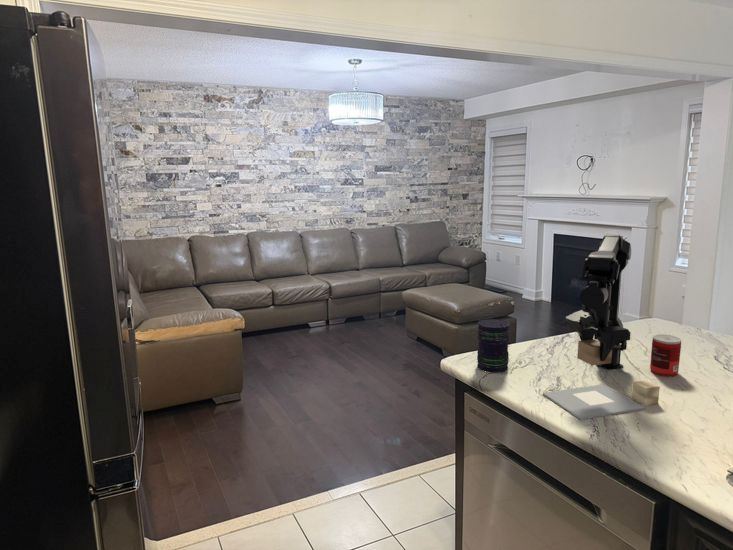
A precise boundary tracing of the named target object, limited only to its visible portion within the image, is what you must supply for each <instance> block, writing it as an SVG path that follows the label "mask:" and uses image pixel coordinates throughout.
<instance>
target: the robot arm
mask: <svg viewBox="0 0 733 550" xmlns="http://www.w3.org/2000/svg"><path fill="white" fill-rule="evenodd" d="M631 257H632V245H631V243H630V242H628V241H627V240H625V239H624V236H623V235H620V234H607V233H606V234H605V235H603V236H602V240H600V242H599V248H598V250H597V251H592V252H590V254H589V255H588V256H587V257H586V258H585V260H584V265H583V270H582V275H581V280H580V281H581V282H587V285H586V286H585V287H584V288H583V289H582V290H581V292H580V293H579V294H580V295H579V299H580V303H581V304H582V305H581V309H580V310H578V311H574V312H572V313H569V314H568V315H567V316H565V325H567V327H568V330H574V332H575V333H577V334H578V336H579V340H580V341H582V340H593V339H598V341H599V342H600V361H605V359H606V358H607V356H608V355H609V353H610V352H611V350H612V357H611V363H609V364H600V365H598V366H600V367H602V368H604V369H606V370H613V369H619V368H624V365H623V364H621V353H622V351H623V352H624V351H625V350H627V347H628V345H627V344H628V343H627V342H628V341H631V333H632V332H631V331H630V329H628V328H625V327H624V325H623V322H622V321H621V320H620V317H619V315H620V314H619V312H620V311H619V310H620V299H621V298H620V297H621V287H622V285H621V283H622V273H623V270H625V269H626V266H628V264H629V261H630V260H631Z"/></svg>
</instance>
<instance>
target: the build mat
mask: <svg viewBox="0 0 733 550" xmlns="http://www.w3.org/2000/svg"><path fill="white" fill-rule="evenodd" d="M542 395H543V396H544V397H545V398H547V399H548V400H550V401H552V402H553V403H555V404H556V405H557V404H558V405H557V406H559V405H560V406H561V408H562V407H563V408H564V409H563V408H562V409H563V410H565V409H566V410H567V413H569V412H570V413H569V414H570V415H572V416H574V417H575V418H577V419H578V420H580V421H582V420H587V419H593V418H600V417H607V416H611V415H618V414H623V413H631V412H636V411H643V410H646V409H647V407H646V406H644V405H642V404H640V403H638V402H636V401H634V400H633V399H632V398H629V397H627V396H625V395H624V394H621V393H620V392H619V391H617V390H615V389H612V387H609V386H607V385H605V384H603V383H601V384H594V385H593V384H592V385H587V386H581V387H573V388H566V389H560V390H554V391H546V392H542ZM560 406H559V407H560ZM566 410H565V411H566Z"/></svg>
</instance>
